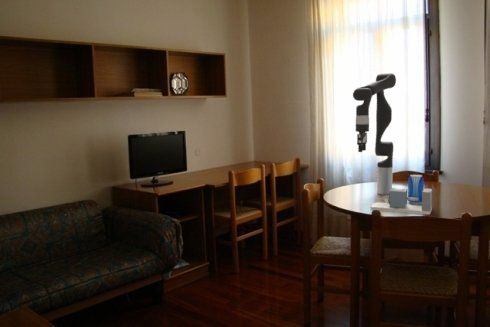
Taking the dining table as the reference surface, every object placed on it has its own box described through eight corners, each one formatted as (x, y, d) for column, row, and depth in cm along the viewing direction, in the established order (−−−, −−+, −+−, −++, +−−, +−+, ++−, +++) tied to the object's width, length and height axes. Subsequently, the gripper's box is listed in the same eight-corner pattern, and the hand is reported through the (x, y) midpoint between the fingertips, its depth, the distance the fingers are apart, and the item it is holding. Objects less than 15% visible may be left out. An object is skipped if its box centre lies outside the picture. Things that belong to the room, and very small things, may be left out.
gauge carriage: (390, 203, 254) (391, 187, 253) (418, 205, 247) (419, 189, 246) (387, 207, 246) (388, 190, 244) (416, 209, 239) (416, 192, 238)
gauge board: (375, 204, 260) (375, 185, 258) (431, 209, 246) (432, 188, 245) (370, 209, 249) (371, 189, 248) (429, 214, 236) (430, 192, 234)
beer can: (407, 200, 268) (408, 174, 265) (423, 201, 265) (423, 174, 262) (407, 204, 260) (408, 176, 258) (423, 204, 257) (423, 177, 255)
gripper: (366, 124, 254) (365, 152, 256) (371, 122, 267) (371, 150, 269) (352, 124, 258) (352, 152, 260) (358, 122, 270) (358, 149, 272)
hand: (362, 151), depth 264 cm, fingers open, 8 cm apart
